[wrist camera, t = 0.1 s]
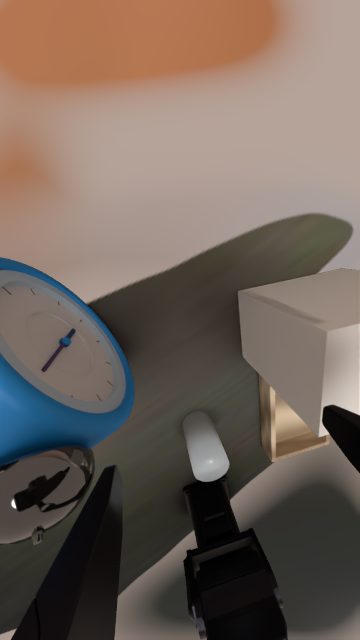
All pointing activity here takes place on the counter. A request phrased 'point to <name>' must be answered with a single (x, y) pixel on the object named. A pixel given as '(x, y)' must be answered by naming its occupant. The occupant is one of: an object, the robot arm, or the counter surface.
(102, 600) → the robot arm
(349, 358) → the white l-shaped bracket
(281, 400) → the tray
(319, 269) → the counter surface
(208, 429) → the grey rounded cylinder
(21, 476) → the alarm clock
